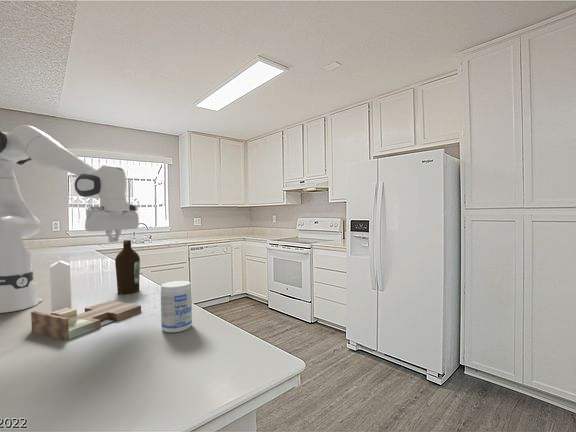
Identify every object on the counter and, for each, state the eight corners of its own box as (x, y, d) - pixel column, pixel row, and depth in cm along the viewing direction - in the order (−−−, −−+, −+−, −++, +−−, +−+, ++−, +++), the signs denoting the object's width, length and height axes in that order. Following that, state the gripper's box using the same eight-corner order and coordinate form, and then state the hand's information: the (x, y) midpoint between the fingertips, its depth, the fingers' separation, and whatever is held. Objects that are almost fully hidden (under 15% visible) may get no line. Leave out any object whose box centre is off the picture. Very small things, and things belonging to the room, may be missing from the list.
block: (51, 324, 97) (50, 312, 97) (67, 319, 102) (67, 307, 102) (60, 326, 95) (60, 314, 95) (77, 321, 100) (76, 309, 100)
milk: (51, 318, 110) (48, 259, 110) (52, 314, 115) (49, 257, 114) (72, 314, 114) (69, 257, 113) (71, 310, 119) (69, 255, 118)
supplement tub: (179, 335, 93) (178, 288, 93) (154, 332, 96) (153, 286, 95) (198, 323, 102) (196, 281, 102) (174, 321, 105) (173, 279, 105)
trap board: (31, 331, 98) (31, 312, 98) (109, 306, 123) (109, 290, 123) (65, 340, 91) (64, 319, 91) (141, 311, 115) (140, 295, 115)
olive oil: (112, 295, 139) (111, 242, 139) (120, 289, 149) (118, 239, 149) (137, 293, 141) (135, 241, 141) (143, 288, 152) (141, 239, 151)
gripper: (92, 206, 107) (92, 244, 107) (141, 207, 125) (141, 239, 126) (81, 206, 109) (81, 243, 110) (130, 207, 128) (130, 239, 128)
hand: (113, 241), depth 118 cm, fingers closed
